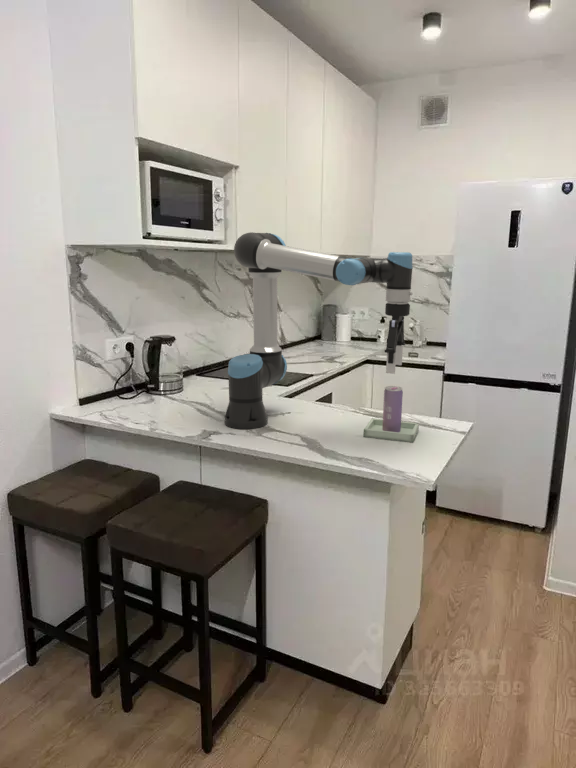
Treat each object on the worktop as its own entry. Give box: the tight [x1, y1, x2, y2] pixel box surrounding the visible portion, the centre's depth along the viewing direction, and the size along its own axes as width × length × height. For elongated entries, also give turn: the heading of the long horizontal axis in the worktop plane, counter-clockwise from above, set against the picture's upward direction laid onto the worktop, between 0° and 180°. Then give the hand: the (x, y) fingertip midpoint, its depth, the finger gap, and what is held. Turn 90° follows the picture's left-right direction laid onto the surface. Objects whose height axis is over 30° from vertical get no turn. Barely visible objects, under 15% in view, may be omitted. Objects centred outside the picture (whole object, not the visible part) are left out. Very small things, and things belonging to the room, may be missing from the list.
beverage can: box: [382, 385, 403, 432], centre depth 181 cm, size 6×6×15 cm
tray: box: [363, 417, 420, 443], centre depth 183 cm, size 16×13×2 cm
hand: (394, 369), depth 178 cm, fingers open, 13 cm apart
